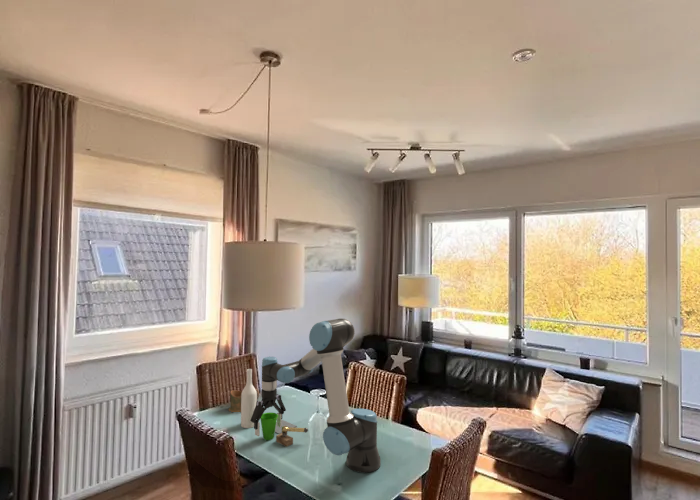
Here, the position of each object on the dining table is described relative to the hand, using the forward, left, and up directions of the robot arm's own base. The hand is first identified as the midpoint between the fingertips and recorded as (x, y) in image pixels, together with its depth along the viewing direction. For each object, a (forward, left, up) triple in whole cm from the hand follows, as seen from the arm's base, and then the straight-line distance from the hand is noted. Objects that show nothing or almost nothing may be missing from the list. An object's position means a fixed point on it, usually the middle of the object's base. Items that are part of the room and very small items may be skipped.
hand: (268, 430), depth 197 cm
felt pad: (+5, -12, -4) cm, 13 cm away
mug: (+41, -13, -4) cm, 43 cm away
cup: (0, 0, -4) cm, 4 cm away
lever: (-13, -6, +1) cm, 15 cm away
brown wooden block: (-10, -2, -3) cm, 11 cm away
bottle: (+20, -2, -4) cm, 20 cm away
